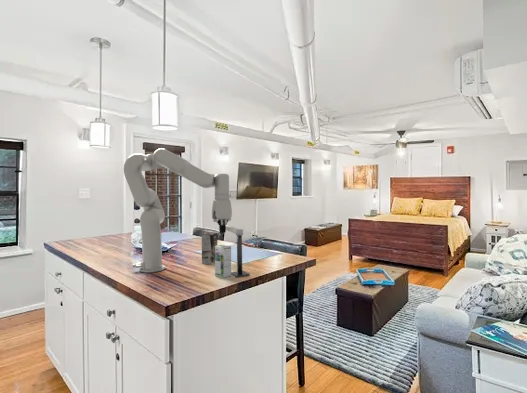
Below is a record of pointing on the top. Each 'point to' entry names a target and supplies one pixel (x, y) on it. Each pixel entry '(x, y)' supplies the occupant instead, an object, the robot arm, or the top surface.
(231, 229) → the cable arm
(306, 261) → the top surface
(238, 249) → the stand
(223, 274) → the syrup box
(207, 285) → the top surface
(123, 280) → the top surface
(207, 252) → the coffee box
